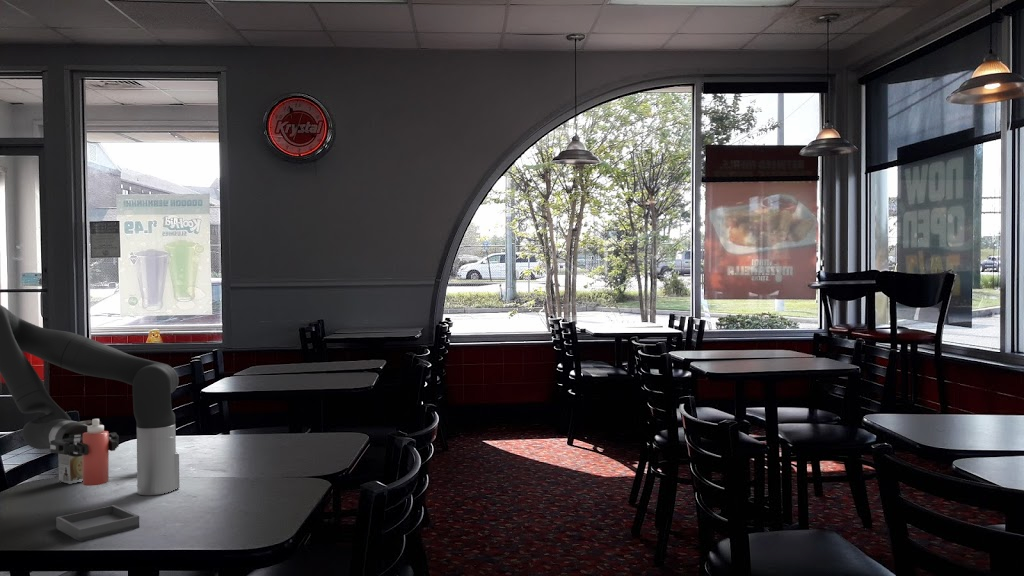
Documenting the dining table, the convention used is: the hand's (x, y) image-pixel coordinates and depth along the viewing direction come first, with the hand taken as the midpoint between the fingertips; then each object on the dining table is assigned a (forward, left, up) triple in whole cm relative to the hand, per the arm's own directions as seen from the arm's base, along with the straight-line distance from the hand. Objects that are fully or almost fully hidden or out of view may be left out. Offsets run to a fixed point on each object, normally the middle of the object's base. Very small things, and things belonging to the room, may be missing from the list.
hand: (100, 448), depth 162 cm
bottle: (0, -3, -8) cm, 8 cm away
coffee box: (-14, -54, -18) cm, 58 cm away
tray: (0, -3, -18) cm, 18 cm away
